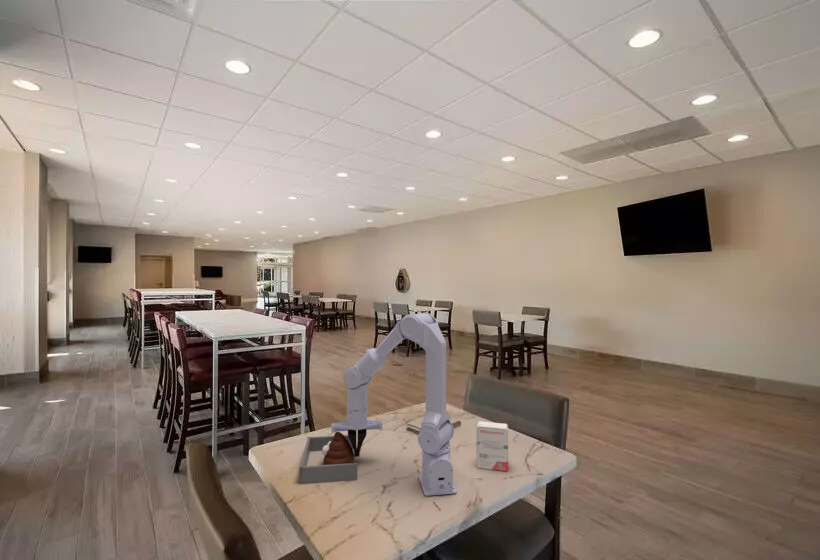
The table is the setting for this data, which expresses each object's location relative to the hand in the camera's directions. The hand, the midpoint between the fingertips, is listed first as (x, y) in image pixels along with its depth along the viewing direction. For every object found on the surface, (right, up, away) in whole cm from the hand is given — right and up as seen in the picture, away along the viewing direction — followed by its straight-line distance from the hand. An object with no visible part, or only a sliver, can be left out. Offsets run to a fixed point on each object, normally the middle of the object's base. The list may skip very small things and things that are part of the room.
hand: (356, 455), depth 109 cm
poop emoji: (-5, -2, -1) cm, 6 cm away
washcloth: (+24, -3, +27) cm, 36 cm away
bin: (-7, -2, -1) cm, 7 cm away
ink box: (+39, -2, -2) cm, 39 cm away
